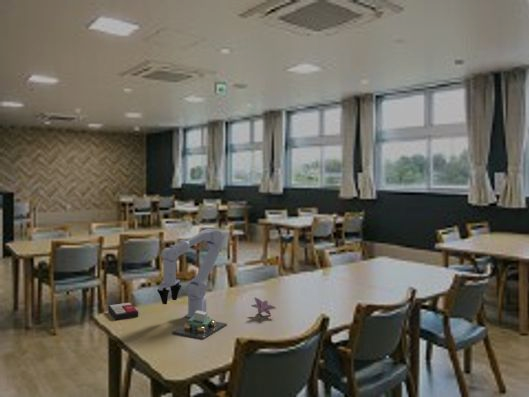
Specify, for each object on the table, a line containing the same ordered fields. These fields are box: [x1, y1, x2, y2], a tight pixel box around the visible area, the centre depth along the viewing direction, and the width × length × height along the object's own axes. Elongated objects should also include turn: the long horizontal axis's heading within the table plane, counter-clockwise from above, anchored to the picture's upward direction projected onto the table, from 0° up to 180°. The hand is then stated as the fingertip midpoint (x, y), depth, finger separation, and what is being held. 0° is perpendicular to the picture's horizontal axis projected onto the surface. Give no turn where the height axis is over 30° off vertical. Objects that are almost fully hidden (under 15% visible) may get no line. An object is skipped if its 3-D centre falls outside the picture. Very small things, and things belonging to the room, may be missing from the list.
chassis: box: [171, 318, 228, 340], centre depth 203 cm, size 20×16×4 cm
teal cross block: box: [187, 310, 213, 327], centre depth 203 cm, size 11×9×4 cm
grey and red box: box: [108, 302, 139, 321], centre depth 224 cm, size 11×4×15 cm
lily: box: [250, 296, 277, 317], centre depth 222 cm, size 12×12×10 cm
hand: (169, 301), depth 213 cm, fingers open, 7 cm apart
